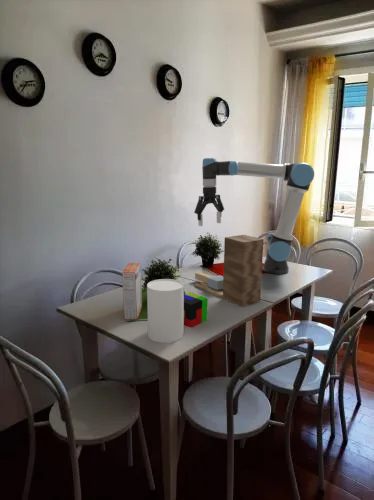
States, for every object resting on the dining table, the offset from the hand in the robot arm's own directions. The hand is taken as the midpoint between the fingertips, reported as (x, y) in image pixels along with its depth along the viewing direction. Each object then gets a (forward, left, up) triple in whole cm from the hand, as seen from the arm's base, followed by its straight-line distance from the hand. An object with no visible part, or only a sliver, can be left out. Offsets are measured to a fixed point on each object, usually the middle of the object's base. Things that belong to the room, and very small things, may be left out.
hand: (209, 224), depth 214 cm
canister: (+63, +53, -29) cm, 87 cm away
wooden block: (+14, +42, -29) cm, 53 cm away
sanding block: (+14, +18, -28) cm, 36 cm away
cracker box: (+64, +28, -29) cm, 75 cm away
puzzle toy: (+48, +48, -30) cm, 73 cm away
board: (+14, +24, -29) cm, 40 cm away
